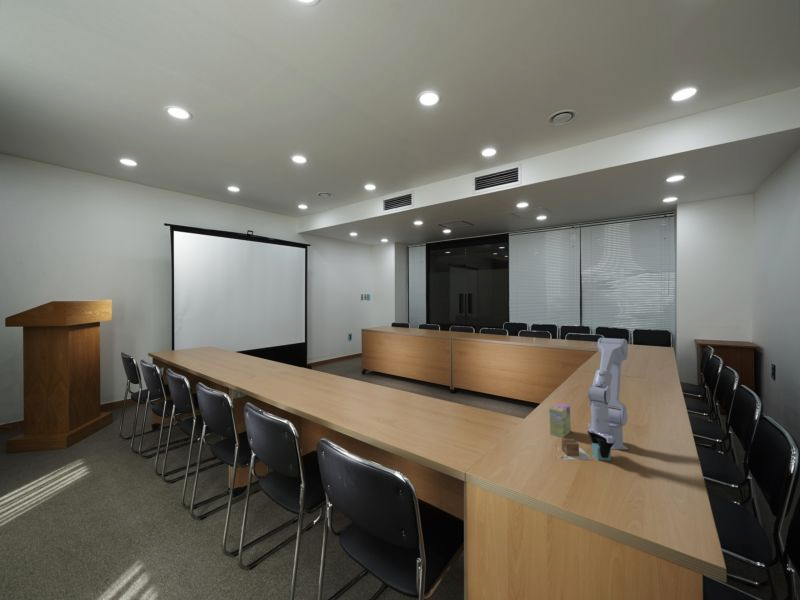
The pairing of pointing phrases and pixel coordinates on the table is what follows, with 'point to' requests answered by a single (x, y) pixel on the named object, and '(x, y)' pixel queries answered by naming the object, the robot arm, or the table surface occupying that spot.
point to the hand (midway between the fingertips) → (600, 454)
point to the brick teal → (598, 452)
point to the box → (560, 420)
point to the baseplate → (581, 456)
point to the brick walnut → (570, 447)
